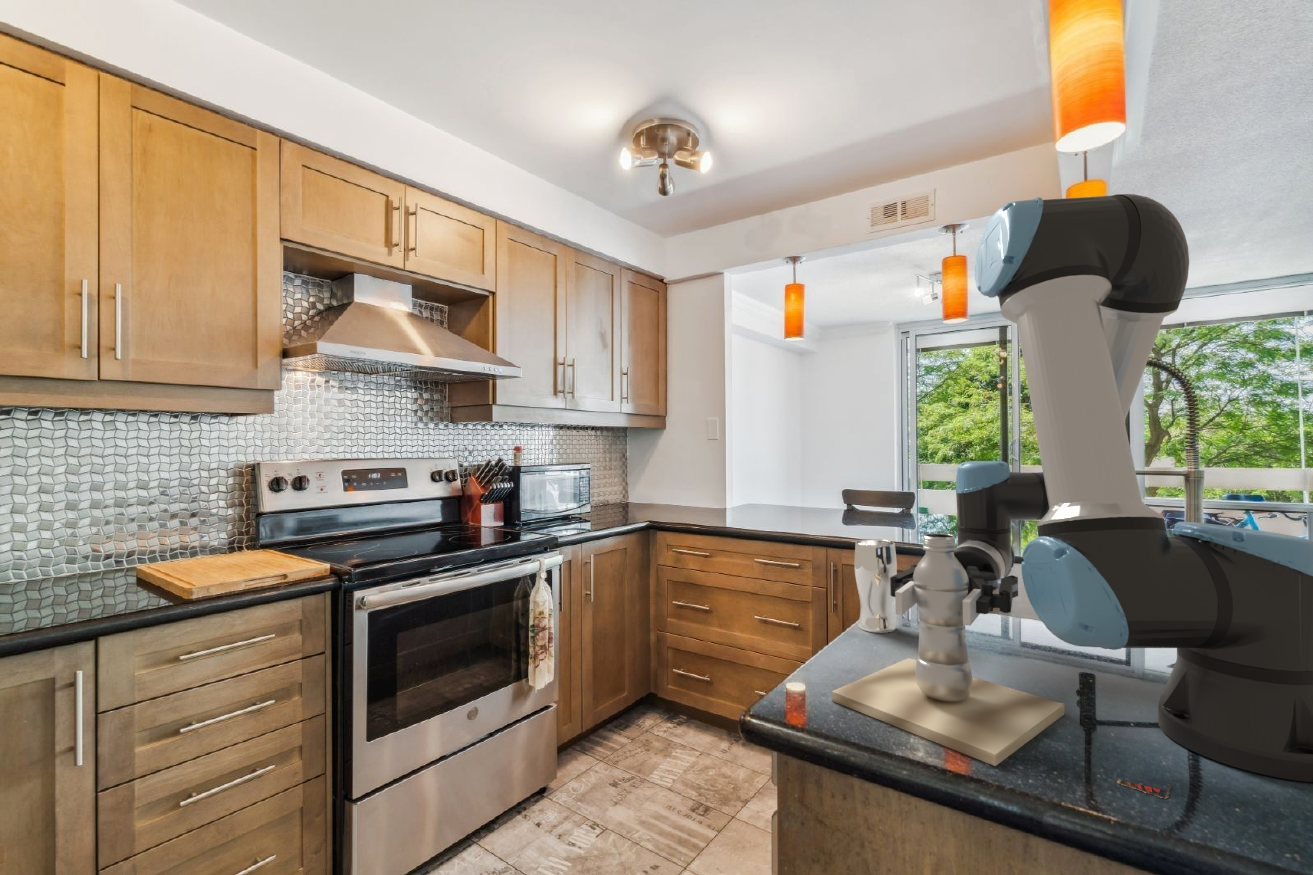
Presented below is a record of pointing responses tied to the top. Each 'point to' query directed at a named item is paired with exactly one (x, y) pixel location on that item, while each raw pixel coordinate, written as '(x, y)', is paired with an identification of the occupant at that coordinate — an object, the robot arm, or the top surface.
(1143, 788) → the red brown flat piece
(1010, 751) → the birch board
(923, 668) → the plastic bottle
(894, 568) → the beer glass
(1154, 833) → the top surface
